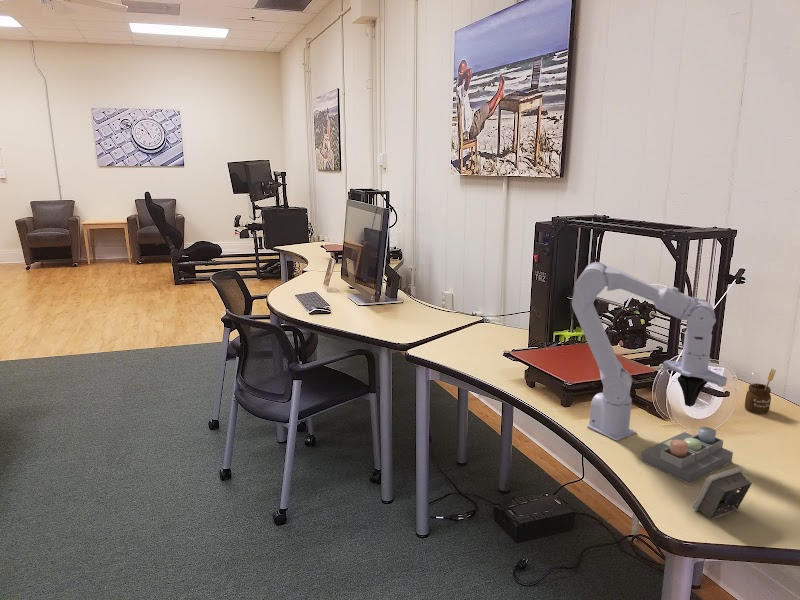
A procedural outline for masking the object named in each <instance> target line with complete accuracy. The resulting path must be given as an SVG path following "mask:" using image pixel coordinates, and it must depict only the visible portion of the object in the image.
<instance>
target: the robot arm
mask: <svg viewBox="0 0 800 600" xmlns="http://www.w3.org/2000/svg"><path fill="white" fill-rule="evenodd" d="M605 287H606V291H607V292H610V291H614V290H615V291H616V290H622V291H625V292H628V293H630V294H633V295H636V296H638V297H641V298H643V299H645V300H649V301H650V302H652V303H653V305H654V307H655V309H656V310H659V311H661V312H663V313H666V314H668V315H670V316H672V317H674V318H675V319H678V320H681V321H686V322H687V324H686V330H685V332H684V339H683V348H682V355H681V357H682V358H681V362H680V361H679V362H678V361H673V360H669V359H666V360H665V361H663V363H662V370H666V371H668V370H669V371H673V372H675V373H679V374H680V375H679V376H678V377H677V382H678V384H679V386H680V389H681V391H682V395H683V399H684V405H685V406H686V407H689V408H690V407H691V408H692V407H693V406H695V404H696V402H697V399H698V398H699V395H700V393H701V392H702V390H703V389H704V387H705V385H707V384H708V383H711V384H714V385H716V386H717V387H720V388H724V387H725V386H727V382H728V381H727V380H728V378H727V376H723V375H721V374H718V373H717V372H714V371H712V370H710V369H709V363H710V354H711V347H712V340H713V338H712V337H713V334H712V332H713V327H714V325H715V324H716V322H717V319H716V314H715V310H714V307H713V305H712V304H711V303H710V302H708V301H707V300H706V299H703V298H702V299H701V298H699V297H697V296H694V297H692V296H689V295H688V294H685V293H683V292H680V291H679V287H675V286H673V287H671V288H670V287H669V286H666V287H662V288H657V287H655V286H653V285H652V284H650V283H648V282H645V281H643V280H641V279H639V278H637V277H635V276H633V275H631V274H628V273H627V272H624V271H623V270H620V269H618V268H616V267H614V266H611V265H605V264H604V263H602V262H600V261H596V262H591V263H589V264H588V265H586V266H585V268H584V270H583V271H582V273H581V274H580V275H579V276H578V278H577V279H576V281H575V284H574V290H573V295H572V301H571V307H572V310H573V312H574V314H575V316H576V318H577V322H578V323H579V326H580V327H581V330H582V332H583V333H582V334H583V335H584V337H585V339H586V342H587V343H588V346H589V348H590V351H591V353H592V355H593V357H594V359H595V362H596V364H597V367H598V369H599V370H598V371H599V375H600V377H599V378H600V380H601V383H602V387H603V388H602V392H598V393H596V394H595V395H594V396H593V397H592V400H591V403H590V407H589V424H587V425H586V427H587V428H588V429H591V430H593V431H595V432H597V433H599V434H602V435H604V436H606V437H608V438H610V439H611V440H613V441H618V442H619V441H620V440H623V439H624V438H627V437H629V436H632V435H634V434H637V430H635V429H633V428H631V427H630V422H631V412H632V402H633V399H632V396H631V387H632V384H633V378H632V375H631V374H630V373H629V371H627V370H626V369H625V368H624V366H623V364H622V363H621V362H620V361H619V359H618V358H617V355H616V354H615V352H614V351H615V350H614V349H613V346H612V344H611V342H610V340H609V337H608V335H607V333H606V330H605V328H604V325H603V323H602V320H601V319H600V318H601V317H600V316H599V313H598V312H597V309H596V306H595V305H594V302H595V300H596V298H597V296H598V295H600V293H602V291H603V290H604V289H605Z"/></svg>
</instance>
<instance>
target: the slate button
mask: <svg viewBox="0 0 800 600" xmlns="http://www.w3.org/2000/svg"><path fill="white" fill-rule="evenodd" d="M697 434H698V440H700V441H701V442H704V443H714V442H715V437H716V438H717V436H716V435H717V430H715V429H714V428H712V427H708V426H701V427H698V432H697Z"/></svg>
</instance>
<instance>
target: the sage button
mask: <svg viewBox="0 0 800 600" xmlns="http://www.w3.org/2000/svg"><path fill="white" fill-rule="evenodd" d="M684 442H686V443H687V444H688V449H690V450H692V451H695V452H698V451H700V450H701V446H702V442H701V441H700V440H698V439H695V438H686V439H684Z"/></svg>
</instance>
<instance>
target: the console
mask: <svg viewBox="0 0 800 600" xmlns="http://www.w3.org/2000/svg"><path fill="white" fill-rule="evenodd" d="M686 438H695V439H698V433H696V434H694V435H693V434H691V433H687V432H685V431H683V432H680V433H679V434H677V435H675V436H672V437H670V438H668V439H665V440H664V441H662V442H659V443H657V444H654V445H652V446H650V447H648V448H646V449H644V450H642V451H641V457H640V458H641V459H640V461H641V462H643V463H645V464H647V465H649V466H651V467H653V468H656V469H658V470H659V471H662V472H664V473H666V474H668V475H670V476H672V477H674V478H676V479H678V480H680V481H682V482H685V483H686V484H688V485H691V484H693V483H694V482H697V481H698V480H701V479H702V478H705V477H706V476H708V475H710V474H711V473H714V472H715V471H718V470H719V469H721V468H724V467H725V466H727V465H728V464H731V463H732V462H733V455H734V452H733V451H732V450H729V449H726V448H724V446H723V445H724V439H721V438H719V437H717V436H716V437H715V442H714V443H704V442H702V446H701V450H700V451H698V452H695V451H692V450H690V449H688V450H687V456H686V457H676V456H673V455H672V454H670V452H669V450H670V441H671V440H682V441H684V439H686Z"/></svg>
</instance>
